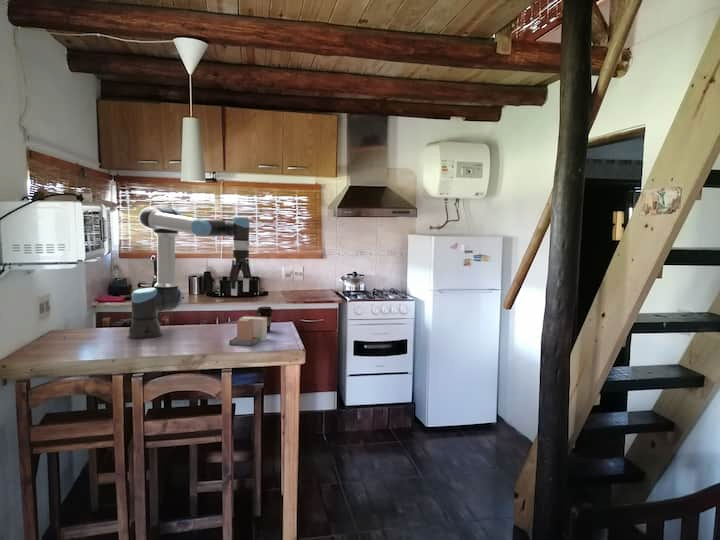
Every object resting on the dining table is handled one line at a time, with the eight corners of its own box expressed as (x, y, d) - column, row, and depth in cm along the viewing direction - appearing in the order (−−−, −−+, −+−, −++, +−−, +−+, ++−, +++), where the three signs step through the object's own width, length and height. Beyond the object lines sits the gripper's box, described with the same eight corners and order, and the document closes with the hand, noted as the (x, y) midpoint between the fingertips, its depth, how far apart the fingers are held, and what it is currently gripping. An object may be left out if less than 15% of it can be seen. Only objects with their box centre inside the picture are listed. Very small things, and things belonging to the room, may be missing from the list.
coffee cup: (274, 330, 260) (274, 306, 259) (270, 333, 252) (270, 309, 251) (258, 329, 261) (259, 305, 260) (254, 332, 253) (254, 308, 252)
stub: (237, 343, 227) (237, 320, 226) (241, 340, 232) (241, 318, 231) (249, 344, 226) (249, 320, 225) (253, 341, 231) (253, 318, 230)
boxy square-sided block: (238, 340, 236) (238, 317, 235) (243, 337, 242) (243, 315, 241) (262, 341, 234) (262, 319, 233) (266, 338, 240) (266, 316, 239)
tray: (229, 344, 227) (229, 340, 226) (237, 340, 236) (237, 335, 235) (252, 346, 225) (252, 341, 225) (259, 341, 234) (259, 337, 234)
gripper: (237, 251, 216) (236, 297, 218) (258, 248, 240) (257, 290, 243) (221, 250, 217) (221, 296, 219) (244, 247, 242) (243, 289, 244)
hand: (240, 293), depth 231 cm, fingers open, 13 cm apart
